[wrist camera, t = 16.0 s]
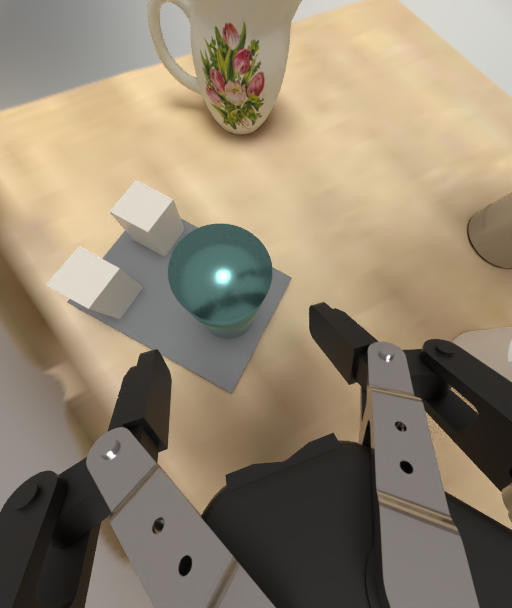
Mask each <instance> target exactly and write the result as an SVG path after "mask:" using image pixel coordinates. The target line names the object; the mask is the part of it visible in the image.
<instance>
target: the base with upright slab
mask: <svg viewBox="0 0 512 608" xmlns="http://www.w3.org/2000/svg"><path fill="white" fill-rule="evenodd" d="M453 343H454V344H456V345H458V346H459V347H461V348H462V349H464V350H465V351H467V352H468V353H470V354H471V355H472V356H474V357H475V358H477V359H478V360H480V361H481V362H483V363H484V364H486V365H487V366H489V367H490V368H492V369H493V370H495V371H496V372H497V373H499V374H500V375H502V376H503V377H505V378H506V379H508V380H509V381H511V382H512V326H511V327H502V328H494V329H485V330H476V331H468V332H465V333H462V334H460V335H459V336H458V337H457V338H455V340H454V341H453Z"/></svg>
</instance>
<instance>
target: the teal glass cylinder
mask: <svg viewBox="0 0 512 608" xmlns="http://www.w3.org/2000/svg"><path fill="white" fill-rule="evenodd" d="M168 280H169V285H170V288H171V290H172V292H173V294H174V296H175V298H176V299H177V301H178V302H179V303H180V304H181V305H182V306H183V307H184V308H185V309H186V310H187V311H188V312H189V313H190V314H191V315H192V316H193V317H194V318H196V319H197V320H198V321H199V322H200V323H201V324H202V325H203V326H204V327H205V328H206V329H207V330H208V331H209V332H210V333H212V334H213V335H215V336H217V337H220V338H224V339H231V338H236V337H238V336H240V335H242V334H243V333H245V332H246V331H247V330H248V329H249V327H250V326H251V324H252V322H253V320H254V318H255V316H256V314H257V312H258V311H259V309H260V307H261V305H262V303H263V301H264V299H265V297H266V295H267V293H268V291H269V289H270V286H271V282H272V263H271V259H270V256H269V254H268V252H267V250H266V248H265V246H264V245H263V244H262V243H261V241H260V240H259V239H258V238H257V237H256V236H254V235H253V234H252V233H250V232H248V231H247V230H245V229H243V228H241V227H238V226H234V225H229V224H211V225H206V226H202V227H200V228H197V229H195V230H193V231H192V232H190V233H189V234H187V235H186V236H185V237H184V238H183V239H182V240H180V242H179V243H178V244H177V245H176V247H175V249H174V250H173V252H172V254H171V257H170V260H169V264H168Z"/></svg>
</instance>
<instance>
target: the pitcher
mask: <svg viewBox="0 0 512 608" xmlns="http://www.w3.org/2000/svg"><path fill="white" fill-rule="evenodd" d="M301 1H302V0H148V1H147V15H148V22H149V28H150V33H151V37H152V40H153V43H154V46H155V49H156V51H157V53H158V55H159V58H160V60H161V61H162V63H163V64H164V66H165V67H166V69H167V70H168V71H169V72H170V74H171V75H172V76H173V77H174V78H175V79H176V80H177V81H178V82H179V83H181V84H182V85H183V86H185V87H187V88H188V89H190V90H192V91H194V92H197V93H199V94H201V95H203V97H204V100H205V102H206V104H207V106H208V109H209V110H210V112H211V114H212V115H213V117H214V118H215V119H216V121H217V122H218V123H219V125H220V126H221V127H222V128H223V129H225V130H226V131H228V132H230V133H233V134H239V135H244V134H249V133H252V132H254V131H255V130H257V129H258V128H259V126H260V125H261V124H262V123H263V122H264V121H265V120H266V118H267V117H268V115H269V114H270V112H271V110H272V108H273V106H274V104H275V102H276V99H277V97H278V94H279V91H280V88H281V85H282V82H283V78H284V74H285V69H286V63H287V58H288V51H289V43H290V27H291V21H292V19H293V17H294V15H295V12H296V10H297V8H298V6H299V4H300V3H301ZM165 2H171V3H174V4H175V5H177V6H178V7H179V8H181V9H182V10H183V11H184V13H185V14H186V16H187V17H188V18H189V21H190V25H191V48H192V56H193V62H194V67H195V71H196V75H197V78H196V77H193V76H191V75H190V74H188V73H187V72H185V71H184V70H183V69H182V68H181V67H180V66H179V65H178V64H177V63H176V62H175V60H174V59H173V58H172V56H171V55H170V53H169V52H168V50H167V47H166V45H165V42H164V39H163V36H162V32H161V27H160V17H159V16H160V7H161V5H162V4H163V3H165Z"/></svg>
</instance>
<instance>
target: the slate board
mask: <svg viewBox="0 0 512 608" xmlns="http://www.w3.org/2000/svg"><path fill="white" fill-rule="evenodd" d="M181 221H182V224H183V226H184V229H185V230H184V232H183V233H182V234H181V236H180V237H179V239H178V240H177V241H176V243H175V244H174V245H173V247H172V248H171V250H170V251H169V252H168V254H167V255H166V257H164V256H162V255H160V254H158V253H156V252H155V251H153V250H151V249H149V248H147V247H145V246H143V245H142V244H140V243H138V242H136V241H134V240H133V239H132V238H131V236H130V235H129V234H128V233H127V232H126V230H125V231H124V233H123V234H122V235H121V236H120V238H119V239H118V240H117V241H116V243H115V244H114V245H113V246H112V247H111V249H110V250H109V251H108V252H107V254H106V255H105V256H104V257H103V260H105V261H107V262H109V263H111V264H113V265H114V266H116V267H118V268H120V269H121V270H122V271H124V272H125V273H126V274H128V275H129V276H130V277H131V278H133V279H134V280H135V281H136V282H138V283H139V284H140V285H142V286H143V288H142V290H141V291H140V293H139V294H138V295H137V297H136V298H135V300H134V301H133V302H132V304H131V305H130V306H129V308H128V309H127V311H126V312H125V313H124V315H123V316H122V318H121V319H117V318H114V317H111V316H108V315H105V314H102V313H99V312H96V311H93V310H90V309H88V308H86V307H84V306H82V305H80V304H79V303H77V302H75V301H73V300H71V299H69V300H68V302H67V303H69V304H71V305H73V306H75V307H76V308H78V309H80V310H82V311H84V312H85V313H87V314H89V315H91V316H93V317H95V318H96V319H98V320H100V321H102V322H104V323H105V324H107V325H109V326H111V327H113V328H114V329H116V330H118V331H120V332H122V333H123V334H125V335H127V336H129V337H131V338H132V339H134V340H136V341H138V342H140V343H141V344H143V345H145V346H147V347H149V348H150V349H152V350H155V349H158V350H159V352H160V354H161V355H163V356H165V357H167V358H168V359H170V360H172V361H174V362H176V363H177V364H179V365H181V366H183V367H185V368H186V369H188V370H190V371H192V372H194V373H195V374H197V375H199V376H201V377H203V378H204V379H206V380H208V381H210V382H212V383H213V384H215V385H217V386H219V387H221V388H222V389H224V390H226V391H228V392H230V393H231V394H232V392H233V390H234V388H235V386H236V384H237V382H238V380H239V378H240V377H241V375H242V373H243V371H244V369H245V367H246V365H247V363H248V361H249V359H250V357H251V355H252V353H253V351H254V350H255V348H256V346H257V344H258V342H259V340H260V338H261V336H262V334H263V332H264V330H265V328H266V326H267V325H268V323H269V321H270V319H271V317H272V315H273V313H274V311H275V309H276V307H277V305H278V303H279V301H280V299H281V298H282V296H283V294H284V292H285V290H286V288H287V286H288V284H289V282H290V280H291V277H290V276H288V275H286V274H284V273H282V272H280V271H278V270H276V269H275V268H273V267H272V282H271V286H270V289H269V291H268V293H267V295H266V297H265V299H264V301H263V303H262V305H261V307H260V309H259V311H258V312H257V314H256V316H255V318H254V320H253V322H252V324H251V326H250V327H249V329H248V330H247V331H246V332H245V333H243V334H242V335H240V336H238V337H236V338H231V339H224V338H220V337H217V336H215V335H213V334H212V333H210V332H209V331H208V330H207V329H206V328H205V327H204V326H203V325H202V324H201V323H200V322H199V321H198V320H197V319H196V318H194V317H193V316H192V315H191V314H190V313H189V312H188V311H187V310H186V309H185V308H184V307H183V306H182V305H181V304H180V303H179V302H178V301H177V299H176V298H175V296H174V294H173V292H172V290H171V288H170V285H169V280H168V264H169V260H170V257H171V254H172V252H173V250H174V249H175V247H176V245H177V244H178V243H179V242H180V240H182V239H183V238H184V237H185V236H186V235H187V234H189V233H190V232H192V231H193V230H195V229H197V228H198V227H196V226H194V225H192V224H190V223H188V222H186V221H184V220H182V219H181Z"/></svg>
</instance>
